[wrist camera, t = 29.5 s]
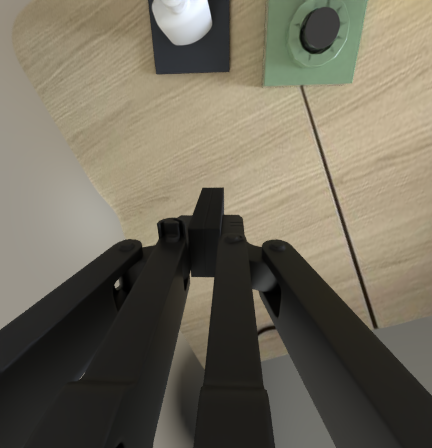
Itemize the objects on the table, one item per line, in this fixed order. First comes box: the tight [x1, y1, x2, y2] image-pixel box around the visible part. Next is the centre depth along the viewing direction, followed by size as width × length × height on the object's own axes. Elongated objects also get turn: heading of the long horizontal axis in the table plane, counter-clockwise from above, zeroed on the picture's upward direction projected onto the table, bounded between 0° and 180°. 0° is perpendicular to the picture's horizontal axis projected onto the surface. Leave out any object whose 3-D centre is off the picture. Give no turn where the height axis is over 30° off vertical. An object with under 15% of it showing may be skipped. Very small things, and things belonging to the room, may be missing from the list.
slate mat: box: [148, 0, 229, 74], centre depth 31 cm, size 10×10×1 cm
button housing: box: [262, 0, 368, 88], centre depth 29 cm, size 11×10×4 cm
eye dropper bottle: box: [152, 0, 212, 45], centre depth 25 cm, size 4×6×12 cm
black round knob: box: [301, 7, 340, 52], centre depth 27 cm, size 4×4×2 cm
